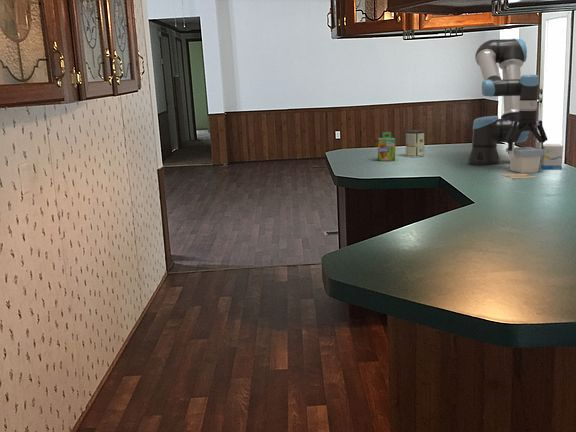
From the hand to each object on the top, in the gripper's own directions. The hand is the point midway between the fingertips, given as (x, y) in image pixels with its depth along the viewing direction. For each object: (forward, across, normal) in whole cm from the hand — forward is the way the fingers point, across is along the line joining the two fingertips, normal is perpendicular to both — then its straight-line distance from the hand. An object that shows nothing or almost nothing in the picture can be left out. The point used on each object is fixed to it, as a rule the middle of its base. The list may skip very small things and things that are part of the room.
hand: (524, 157), depth 285 cm
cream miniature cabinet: (+7, -23, +69) cm, 73 cm away
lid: (-2, 0, 0) cm, 2 cm away
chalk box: (+7, -43, +60) cm, 75 cm away
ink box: (+7, +16, +3) cm, 17 cm away
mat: (+7, -10, -12) cm, 17 cm away
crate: (+7, 0, 0) cm, 7 cm away
